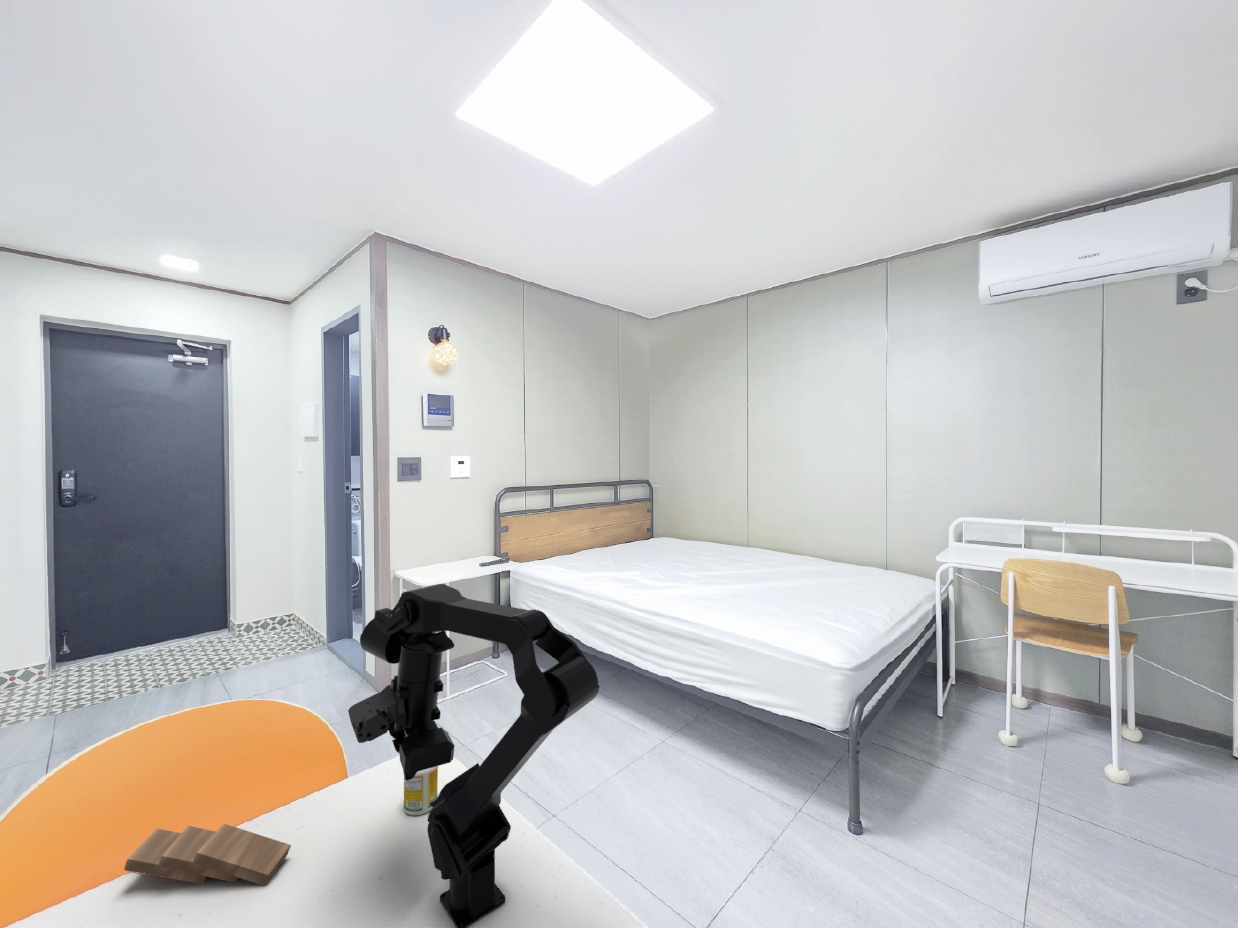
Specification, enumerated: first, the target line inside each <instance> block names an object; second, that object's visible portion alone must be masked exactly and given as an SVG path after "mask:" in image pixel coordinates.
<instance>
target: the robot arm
mask: <svg viewBox="0 0 1238 928" xmlns="http://www.w3.org/2000/svg"><path fill="white" fill-rule="evenodd" d="M447 632H451V633H456V634H459V635H464V636H468V637H472V638H477V639H481V640H485V641H490V642H492V643H497V644H501V645H506V647H507V649H508V650H509V652H510V653H511V656H512V662H513V670H514V677H515V678H514V679H515V682H516V685H518V687H519V689H520V690H521V691H520V692H522V694H523V696H522V698H521V701H520V714H519V716H518V717H517V718H516V720H515V721H514V722H513V723H512V725H511V726H510V728H508V730H507V731H506V733H505V734H504V735H503V736H502V737H501V738H500V740H499V741H498V742H497V743H496V745H495V746H494V748H492V750H491V751H490V753H489V754H488V755H487V756H486V757H485V759H484V760H483V761H482V763H481V764H479V762H477V763H476V764H474V765H473V766H471V767H469V769H467V770H465V771H463V773H460V775H458V776H456V777H455V778H453V779H452V780H450V781H449V782H448V783H446V784H445V785H444V786H443V787H442V789H440V792H439V794H438V795H437V798H436V799H435V800H433V801H432V802H430V805H431V806H432V807H433V808H432V809H431V810H430V811H428V816H427V822H428V824H427V836H428V840H429V844H430V849H431V856H432V861H433V864H434V868H435V869H436V870H437V871H440V873H441V874H440V876H441V877H440V878H441V879H442V880H444V881H446V880H449V889H447V890H445V891H444V892H442V893H440V895H439V902H440V904H441V905H442V908H443V909H444V911H445V912H446V913H447V915H448V917H449V918H450V920H451V922H452V923H453V925H454V927H456V928H468V927H470V926H471V925H473V924H474V923H476V922H478V921H479V920H480V919H482V918H484V917H485V916H487V915H488V914H490V913H492V912H493V911H494V910H496V909H497V908H499V907H501V906H502V905H503V904H505V903H506V896H505V894H504V893H503V891H502V890H501V889H500V888H499V887H498V885H497V884H496V849H497V848H498V847H499V846H501V844H503V842H506V841H507V839H508V838H509V836H510V832H511V830H512V825H511V823H510V822H509V820H508V819H507V817H506V815H505V813H504V812H503V810H502V808H501V806H500V805H501V802H502V795H501V794H502V792H503V790H505V788H506V787H507V786H508V785H509V784H510V782H511V781H512V780H513V779H514V778H515V776H516V775H517V774H518V773H519V771H521V769H522V768H523V767H524V765H525V764H527V762H528V761H529V759H530V758H531V757H532V756H533V755H534V754H535V752H536V751H537V750H538V749H540V746H541V745H542V744H543V743H544V742H545V741H546V739H547V738H549V735H550V734H551V733H552V732H553V731H554V729H556V728H557V727H558V726H560V725H561V724H563V722H565V721H567V720H568V719H569V718H571V717H572V716H574V714H576V713H577V712H579V711H580V710H581V709H583V708H584V707H585V706H586V705H588V704H590V702H592V701H593V700H594V699H595V698H596V697H597V696H598V694H599V691H600V684H599V678H598V675H597V672H596V670H595V668H594V666H593V665H592V664H591V663H590V661H588V659H587V658H586V656H585V655H584V654H583V652H582V650H581V649H580V648H579V646H578V645H577V643H576V642H575V641H574V640H572V639H571V638H570V637H568V636H567V635H566V634H564V633H563V632H562V631H560V630H559V629H558V628H556V627H555V626H554V625H553V623H552V622H551V620H550V619H549V617H548V616H547V615H546V614H545V613H544V612H543V611H541V610H539V609H524V608H519V607H512V606H508V605H502V604H497V603H494V602H493V603H492V602H488V601H483V600H481V601H480V600H476V599H471V598H467V597H465V596H463V595H462V594H461V591H459V590H458V589H456V588H454V587H452V586H450V585H447V584H445V583H437V584H432V585H429V586H425V587H424V586H423V587H421V588H420V587H419V588H415V589H410V590H407V591H403V592H401V594H400V597H399V599H398V602H397V603H396V604H395V606H394V607H393V609H392V608H388V607H385V608H381V609H377V610H375V612H374V617H373V618H372V619H371V620H370V621H369V622H367V624H366V625H365V626H364V628H363V631H362V633H361V634H360V636H359V637H360V638H359V643H360V647H361V649H363V651H365V652H366V653H369V654H370V655H371V656H372V655H373V656H374V657H376V658H378V659H381V660H383V661H385V662H386V663H387V664H390V665H391V664H393V665H394V664H398V669H397V675H394V676H393V679H391V681H390V684H388V685H386V686H385V687H384V688H383V689H382V690H381V691H380V692H377V693H375V694H373V695H370V696H369V697H367V698H365V699H362V700H361V701H358V702H356V703H355V704H353V705H351V706H350V707H349V709H348V710H347V711H348V715H349V720H350V723H351V727H352V729H353V732H354V735H355V738H356V740H357V743H359V744H364V743H366V742H371V741H374V740H375V739H377V738H379V737H381V736H384V735H385V734H387V733H388V732H389V733H388V734H389V735H390V737H392V738H393V739H391V741H392V744H393V746H394V750H395V752H396V753H398V754H399V762H400V764H401V767H402V771H403V779H404V778H405V780H410V779H413V778H414V776H415V775H416V773H417V772H418V771H421V770H425V769H429V768H432V767H436V766H438V767H439V766H442V765H446V764H449V763H451V762H452V761H453V760H454V755H455V746H456V745H455V744H454V741H453V740H452V738H451V736H450V735H449V732H448V731H447V730H445V729H444V728H443V727H438V725H437V723H436V720H440V719H441V710H440V708H439V707H438V697H439V693H440V692H443V691H444V682H443V681H442V679H441V669H442V661H443V660H442V658H443V653H444V652H446V651H449V650H451V649H454V647H455V643H454V642H453V640H452V638H451V637H449V636H448V635H447ZM534 644H535V645H536V646H537V647H538V648H540V649H541V650H542V651H544V652H545V653H546V654H548V655H550V657H552V658H553V659H554V660H556V661H557V662H558V663H556V664H555V665H552V666H551V667H549V668H547V669H545V670H544V671H542V670H541V668H540V667H539V666H538V663H537V658H536V654H535V648H534Z"/></svg>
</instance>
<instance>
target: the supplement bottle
mask: <svg viewBox="0 0 1238 928" xmlns="http://www.w3.org/2000/svg"><path fill="white" fill-rule="evenodd" d="M438 769H439V766H436V767H432V768H429V769H425V770H421V771H418V772H417V773H416V775H415V776H414V778H413V779H410V780H405V778H404V777H403V811H404V812H405V813H406V814H407V815H409V816H414V817H415V816H420V815H424V814H426V813H429V812H430V810H431V809H432V808H433V807H432V806H431V805H430V802H432V801H433V800H435V799H436V798H437V797H438V781H439V779H438V778H439V777H438V776H439V775H438V773H439V772H438V771H439V770H438Z"/></svg>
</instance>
